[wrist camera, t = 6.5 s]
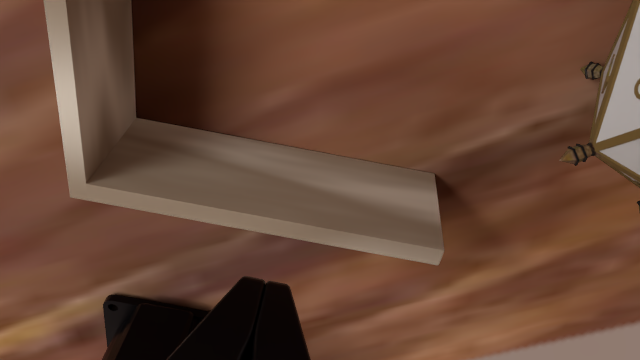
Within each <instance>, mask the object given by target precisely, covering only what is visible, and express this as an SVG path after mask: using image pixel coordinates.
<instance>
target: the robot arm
mask: <svg viewBox="0 0 640 360" xmlns="http://www.w3.org/2000/svg"><path fill="white" fill-rule="evenodd" d="M103 309H104V319H105V328H106V338H107V347H108V348H107V350H106V352H105V354H104V356H103V359H102V360H311V359H310V356H309V352H308V349H307V345H306V342H305V338H304V335H303V331H302V328H301V324H300V321H299V317H298V314H297V310H296V307H295V303H294V300H293V296H292V292H291V289H290V287H289V286H288V285H287V284H283V283H278V282H273V281H268V282H267V283H266V285H265V281H264V280H263V279H258V278H253V277H248V276H244V277H242V278H241V279H240V280H239V281H238V282H237V283H236V284H235V285H234V286H233V288H232V289H231V290H230V291H229V292H228V293H227V294H226V295H225V296H224V297H223V298H222V299H221V301H220V302H219V303H218V304H217V305H216V306H215V307H214V308H213V309H212V310H211V311H210V312H207V311H201V310H196V309H190V308H185V307H179V306H174V305H168V304H163V303H158V302H152V301H147V300H141V299H136V298H130V297H125V296H119V295H109V296H108V297H107V298H106V300H105V302H104V304H103Z"/></svg>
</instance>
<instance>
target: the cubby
mask: <svg viewBox="0 0 640 360" xmlns="http://www.w3.org/2000/svg"><path fill="white" fill-rule="evenodd" d="M44 6H45V14H46V21H47V29H48V36H49V44H50V51H51V58H52V66H53V73H54V81H55V88H56V96H57V103H58V110H59V118H60V125H61V133H62V140H63V147H64V155H65V162H66V170H67V177H68V185H69V192H70V197H72V198H77V199H83V200H88V201H94V202H99V203H104V204H110V205H115V206H121V207H126V208H131V209H137V210H142V211H148V212H153V213H158V214H164V215H169V216H175V217H180V218H185V219H191V220H196V221H202V222H207V223H212V224H218V225H223V226H229V227H234V228H239V229H245V230H250V231H256V232H261V233H266V234H272V235H277V236H282V237H288V238H293V239H299V240H304V241H309V242H315V243H320V244H326V245H331V246H336V247H342V248H347V249H353V250H358V251H363V252H369V253H374V254H380V255H385V256H390V257H396V258H401V259H407V260H412V261H417V262H423V263H428V264H434V265H439V263H440V260H441V258H442V255H443V253H444V243H443V236H442V228H441V220H440V212H439V205H438V197H437V189H436V182H435V174H433V173H428V172H423V171H417V170H412V169H407V168H401V167H396V166H391V165H385V164H380V163H375V162H369V161H364V160H359V159H353V158H348V157H343V156H337V155H332V154H327V153H322V152H316V151H311V150H306V149H300V148H295V147H290V146H284V145H279V144H274V143H268V142H263V141H258V140H252V139H247V138H242V137H236V136H231V135H226V134H220V133H215V132H210V131H204V130H199V129H194V128H188V127H183V126H178V125H172V124H167V123H162V122H156V121H151V120H146V119H140V118H136V100H135V76H134V51H133V27H132V3H131V0H44Z"/></svg>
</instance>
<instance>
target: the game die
mask: <svg viewBox="0 0 640 360" xmlns="http://www.w3.org/2000/svg"><path fill="white" fill-rule="evenodd" d="M581 71H582V72H583V73H584V74H585V77H586V79H588V78H592V79H597V78H600V84H599V90H598V95H597V101H596V106H595V112H594V118H593V123H592V129H591V135H590V140H589V143H588V144H587V145H580V144H576V146H575V147H570V146H569V147H568V150H567V151H566V152H565V154H564V155H563V156H562V158H561V159H560V160H559V161H563V162H568V163H572V164H575V166H576V165H578V163H579V162H581V161H583V162H586V160H587V158H588V157H590V156H596V157H597V158H599V159H600V160H601V161H603V162H604V163H606V164H607V165H608V166H610V167H611V168H613V169H614V170H615V171H617V172H618V173H620V174H621V175H622V176H624V177H625V178H627V179H628V180H629V181H631V182H632V183H634V184H635V185H636V186H638V187H639V188H640V0H633V1H632V3H631V6H630V8H629V10H628V13H627V15H626V17H625V19H624V22H623V24H622V26H621V29H620V31H619V33H618V35H617V38H616V40H615V42H614V45H613V47H612V49H611V51H610V54H609V56H608V58H607V61H606V63H605V65H604V67H602V66H601V65H600V64H599V63H597V64H594V63H593V62H590V63H589V64H588V65H586V66H585V67H583V68H581ZM637 203H638V205H639V212H640V201H638V202H637Z"/></svg>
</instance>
